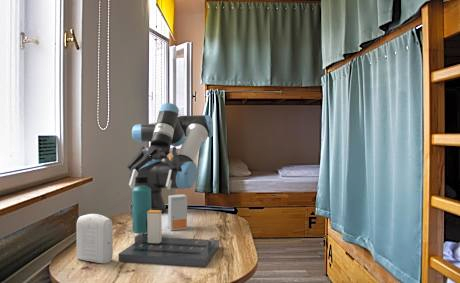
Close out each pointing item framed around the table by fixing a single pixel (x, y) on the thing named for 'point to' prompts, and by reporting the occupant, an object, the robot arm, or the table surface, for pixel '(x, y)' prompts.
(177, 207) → the skincare box
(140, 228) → the beverage bottle
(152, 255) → the console
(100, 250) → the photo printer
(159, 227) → the fader
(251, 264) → the table surface
